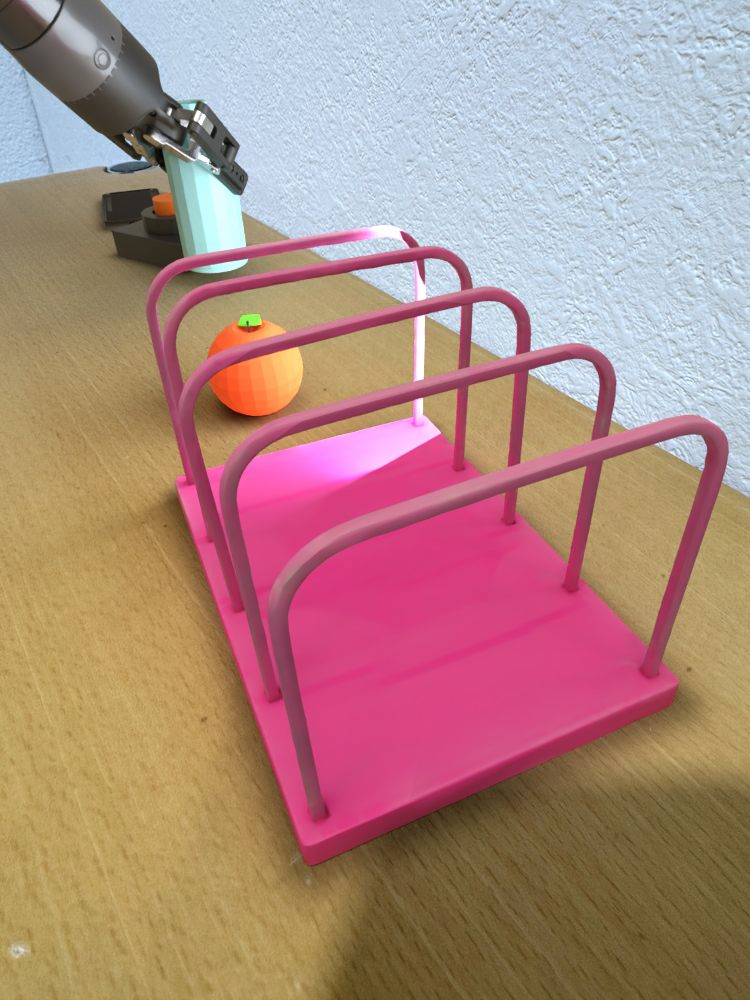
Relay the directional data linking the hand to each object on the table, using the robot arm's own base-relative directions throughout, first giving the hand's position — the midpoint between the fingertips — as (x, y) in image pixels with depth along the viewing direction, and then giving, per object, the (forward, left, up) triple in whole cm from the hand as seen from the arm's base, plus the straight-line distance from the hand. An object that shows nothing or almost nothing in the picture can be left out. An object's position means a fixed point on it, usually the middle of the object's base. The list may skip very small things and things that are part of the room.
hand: (215, 182), depth 68 cm
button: (-11, +3, -5) cm, 13 cm away
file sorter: (+38, -30, -10) cm, 50 cm away
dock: (-11, +3, -10) cm, 15 cm away
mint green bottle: (0, -2, -7) cm, 7 cm away
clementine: (+20, -19, -10) cm, 29 cm away
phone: (-29, +12, -10) cm, 33 cm away
